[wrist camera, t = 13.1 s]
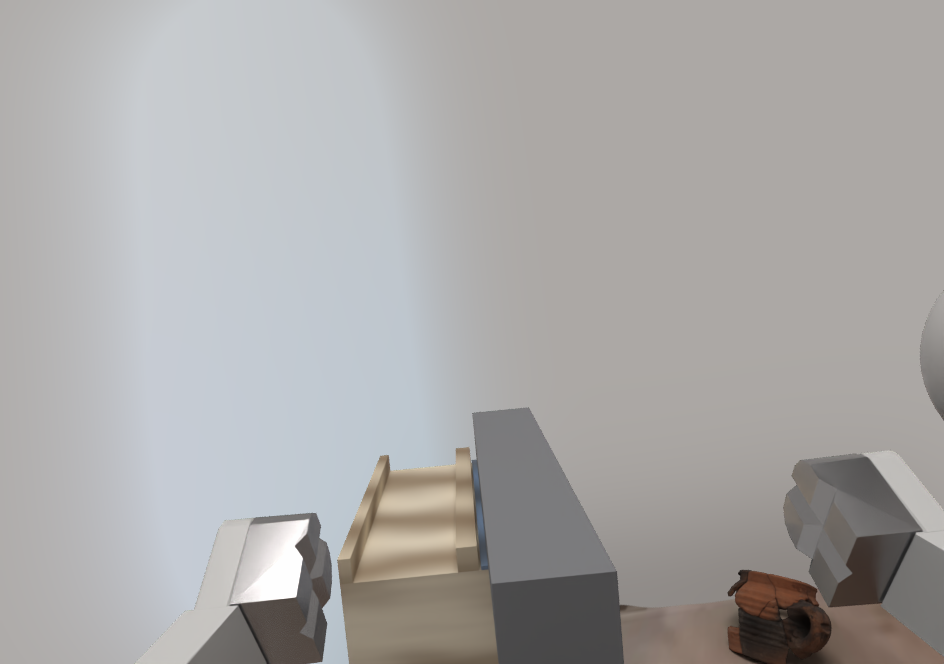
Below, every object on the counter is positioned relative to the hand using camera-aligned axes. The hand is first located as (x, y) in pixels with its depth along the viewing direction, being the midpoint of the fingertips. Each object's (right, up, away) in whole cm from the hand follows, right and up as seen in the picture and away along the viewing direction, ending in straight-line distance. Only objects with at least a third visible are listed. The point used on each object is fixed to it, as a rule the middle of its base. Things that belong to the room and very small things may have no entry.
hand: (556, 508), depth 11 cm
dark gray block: (+1, -8, +23) cm, 24 cm away
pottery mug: (+30, -29, +56) cm, 69 cm away
